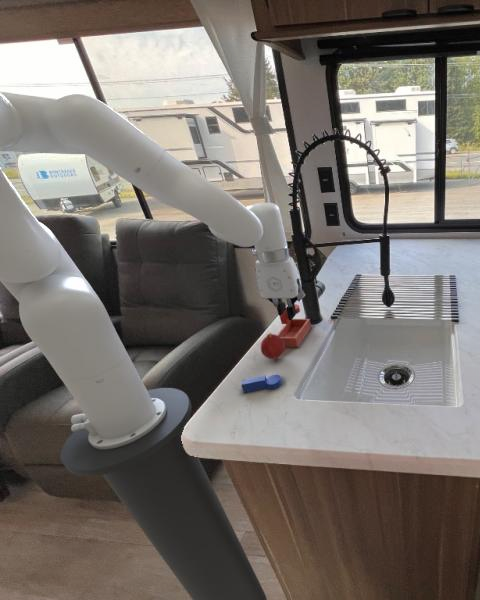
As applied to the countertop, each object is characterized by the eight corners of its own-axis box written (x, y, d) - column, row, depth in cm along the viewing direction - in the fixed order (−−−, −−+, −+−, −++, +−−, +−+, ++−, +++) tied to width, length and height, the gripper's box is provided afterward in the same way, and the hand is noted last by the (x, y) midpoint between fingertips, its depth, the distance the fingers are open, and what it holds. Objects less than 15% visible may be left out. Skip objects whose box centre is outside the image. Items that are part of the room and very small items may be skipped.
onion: (264, 354, 84) (257, 329, 80) (287, 350, 85) (281, 325, 82) (263, 367, 79) (256, 341, 75) (287, 362, 80) (281, 336, 77)
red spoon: (290, 324, 84) (288, 316, 83) (278, 324, 85) (276, 316, 84) (301, 308, 92) (300, 301, 90) (290, 308, 92) (289, 301, 91)
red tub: (297, 347, 86) (295, 338, 85) (276, 346, 87) (274, 337, 85) (311, 327, 96) (309, 318, 94) (291, 326, 96) (290, 318, 95)
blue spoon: (243, 395, 70) (240, 387, 69) (245, 385, 73) (243, 377, 72) (281, 387, 72) (279, 379, 71) (282, 378, 75) (280, 370, 74)
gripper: (235, 259, 76) (254, 324, 84) (297, 259, 74) (310, 325, 83) (251, 250, 82) (267, 310, 91) (308, 249, 81) (320, 311, 89)
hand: (288, 317), depth 87 cm, fingers closed on red spoon, 1 cm apart
